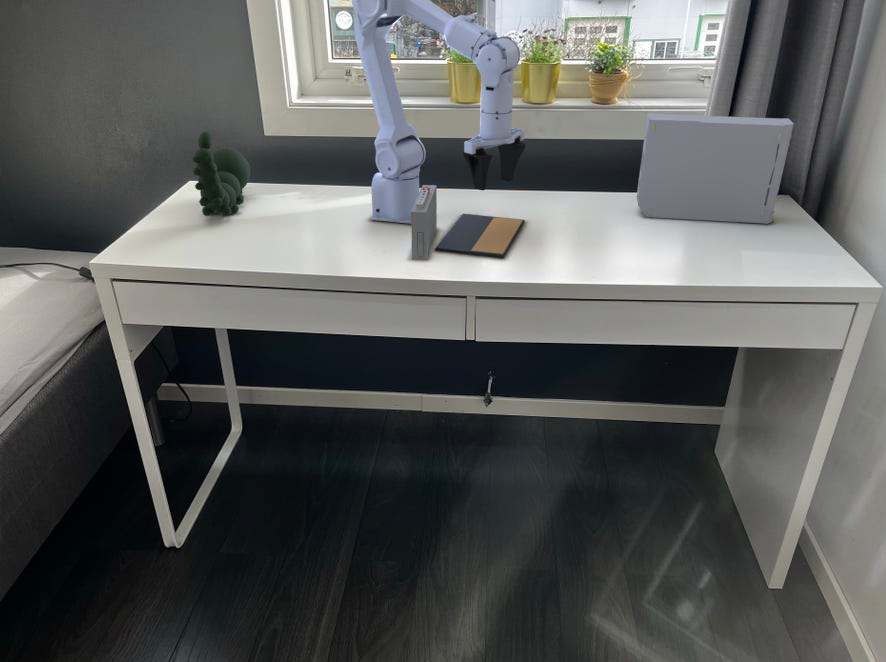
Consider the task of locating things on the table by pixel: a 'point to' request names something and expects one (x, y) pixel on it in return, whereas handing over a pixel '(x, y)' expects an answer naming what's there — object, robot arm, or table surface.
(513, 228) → the desk mat
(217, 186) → the toy figurine
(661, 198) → the game console
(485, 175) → the robot arm
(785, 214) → the table surface
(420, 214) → the cassette player
